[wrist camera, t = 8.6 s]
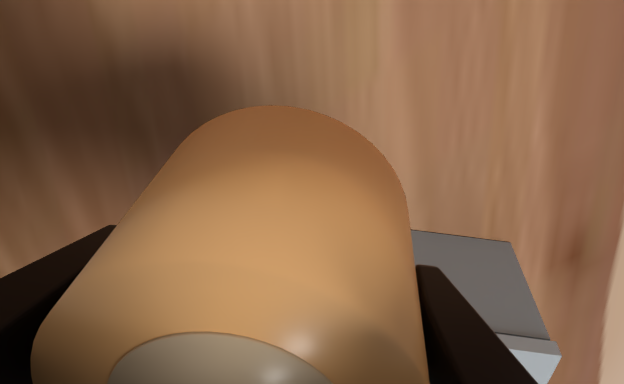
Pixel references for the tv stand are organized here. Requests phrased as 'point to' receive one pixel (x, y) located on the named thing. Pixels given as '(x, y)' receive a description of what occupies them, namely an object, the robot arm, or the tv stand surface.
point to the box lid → (534, 355)
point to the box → (484, 280)
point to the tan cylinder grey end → (250, 267)
